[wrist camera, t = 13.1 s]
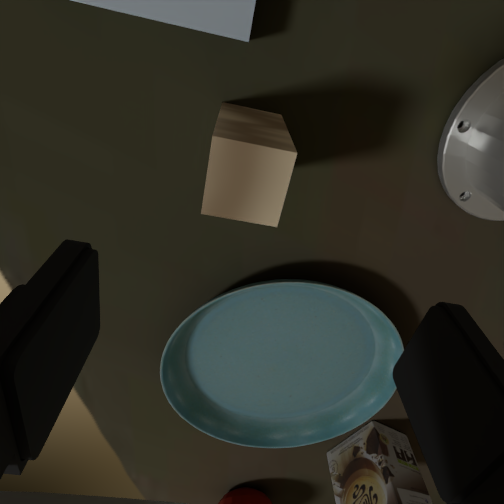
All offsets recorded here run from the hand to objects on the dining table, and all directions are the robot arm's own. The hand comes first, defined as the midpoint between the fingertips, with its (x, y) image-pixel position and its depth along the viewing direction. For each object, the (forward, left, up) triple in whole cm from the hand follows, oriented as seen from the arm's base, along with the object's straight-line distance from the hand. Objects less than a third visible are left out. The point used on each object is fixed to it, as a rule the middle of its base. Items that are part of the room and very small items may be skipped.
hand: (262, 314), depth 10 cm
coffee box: (-23, +36, -19) cm, 47 cm away
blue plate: (-8, +22, -19) cm, 30 cm away
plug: (0, 0, -19) cm, 19 cm away
